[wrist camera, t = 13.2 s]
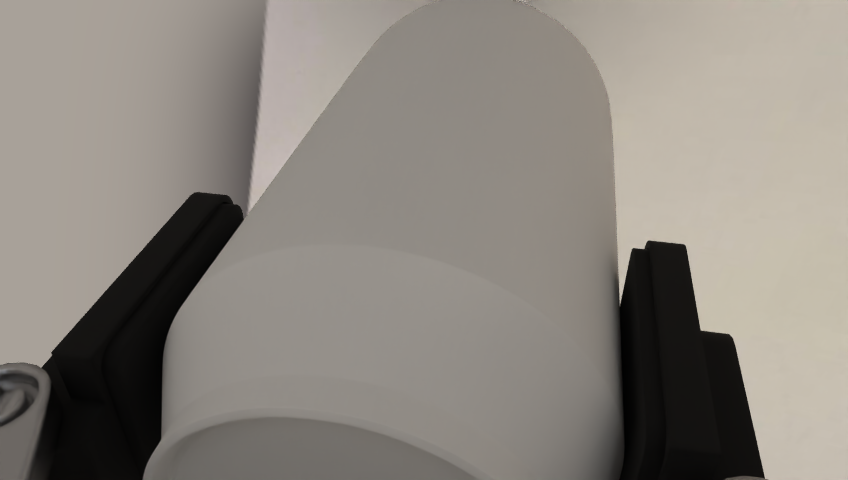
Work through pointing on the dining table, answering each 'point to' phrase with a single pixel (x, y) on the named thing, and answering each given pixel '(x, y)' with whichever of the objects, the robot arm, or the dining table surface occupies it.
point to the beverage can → (419, 276)
